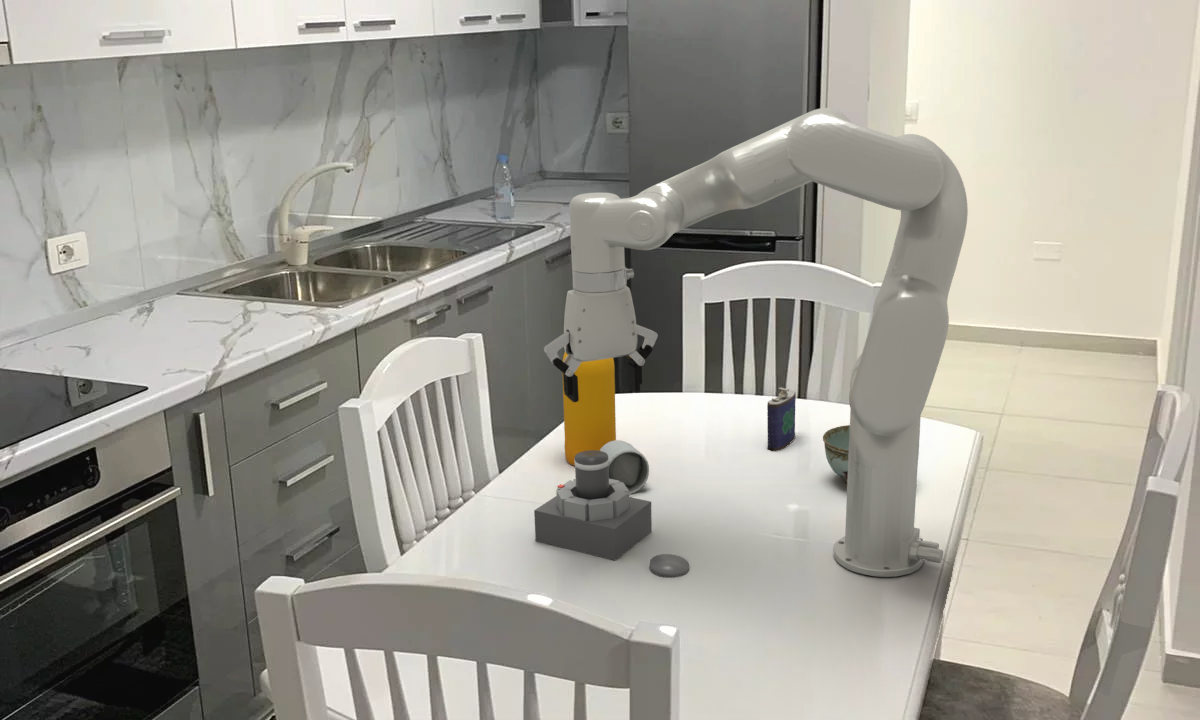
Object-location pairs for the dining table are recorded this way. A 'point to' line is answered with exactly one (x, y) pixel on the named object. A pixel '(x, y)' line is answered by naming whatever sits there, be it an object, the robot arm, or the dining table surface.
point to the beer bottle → (590, 409)
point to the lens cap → (669, 565)
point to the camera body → (594, 521)
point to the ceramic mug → (626, 464)
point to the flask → (781, 420)
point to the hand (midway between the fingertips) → (603, 394)
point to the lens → (592, 474)
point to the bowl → (838, 450)
